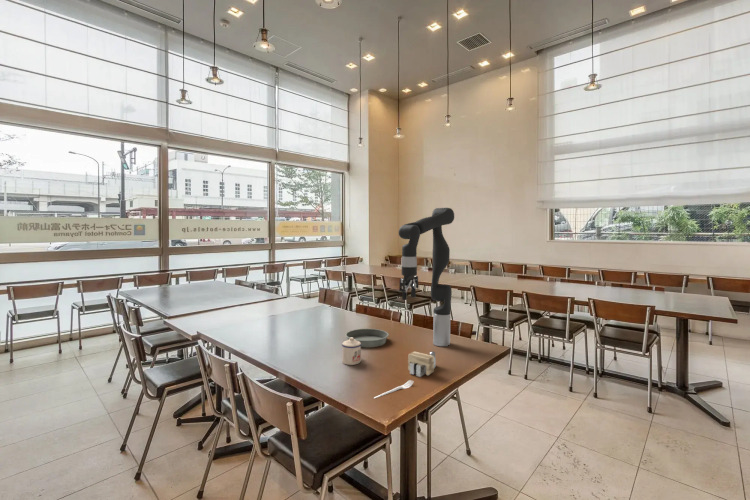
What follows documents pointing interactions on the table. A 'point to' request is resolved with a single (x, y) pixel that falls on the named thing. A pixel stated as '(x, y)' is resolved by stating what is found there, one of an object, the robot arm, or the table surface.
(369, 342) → the cake pan
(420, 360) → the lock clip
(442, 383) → the table surface
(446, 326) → the robot arm
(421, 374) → the fixed jaw
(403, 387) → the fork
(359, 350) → the teacup with lid
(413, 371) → the moving jaw
